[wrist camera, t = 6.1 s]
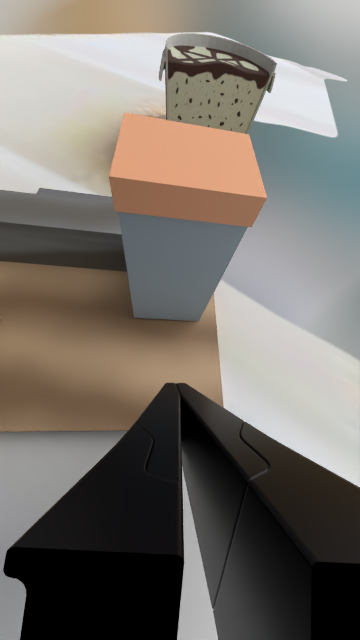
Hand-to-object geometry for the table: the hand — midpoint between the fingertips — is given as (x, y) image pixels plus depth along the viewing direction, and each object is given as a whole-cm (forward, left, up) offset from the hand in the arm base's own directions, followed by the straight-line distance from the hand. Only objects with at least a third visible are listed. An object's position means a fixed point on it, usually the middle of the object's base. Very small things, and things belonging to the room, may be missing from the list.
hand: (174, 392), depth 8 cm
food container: (+33, +5, -7) cm, 34 cm away
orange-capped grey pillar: (+8, +2, -5) cm, 10 cm away
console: (+4, +8, -7) cm, 12 cm away
